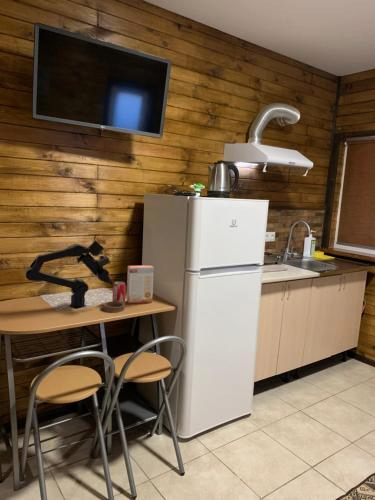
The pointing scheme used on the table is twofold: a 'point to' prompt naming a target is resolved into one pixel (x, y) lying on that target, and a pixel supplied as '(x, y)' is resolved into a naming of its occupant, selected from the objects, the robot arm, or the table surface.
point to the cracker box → (140, 284)
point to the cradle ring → (118, 308)
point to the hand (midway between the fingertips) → (109, 281)
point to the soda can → (119, 292)
